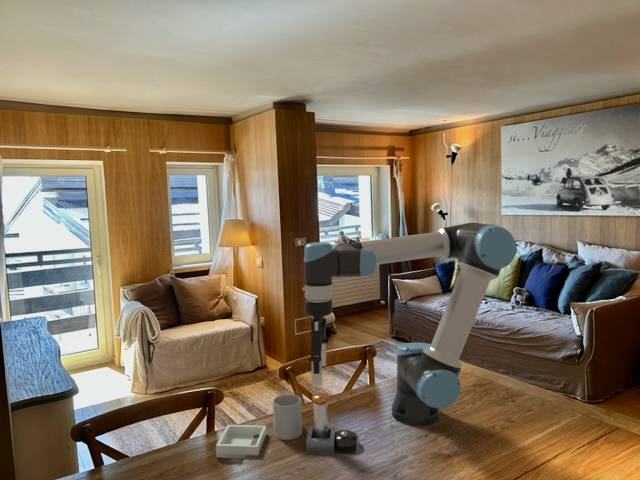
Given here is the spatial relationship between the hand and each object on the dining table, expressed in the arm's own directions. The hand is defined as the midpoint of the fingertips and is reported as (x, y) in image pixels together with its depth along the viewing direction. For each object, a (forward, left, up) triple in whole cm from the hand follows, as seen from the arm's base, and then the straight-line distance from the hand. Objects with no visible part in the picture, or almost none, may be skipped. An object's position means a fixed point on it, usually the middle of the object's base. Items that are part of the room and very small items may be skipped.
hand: (319, 374), depth 133 cm
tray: (+22, +1, -21) cm, 31 cm away
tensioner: (-4, 0, -21) cm, 22 cm away
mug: (+10, -8, -22) cm, 25 cm away
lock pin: (0, 0, -20) cm, 20 cm away
